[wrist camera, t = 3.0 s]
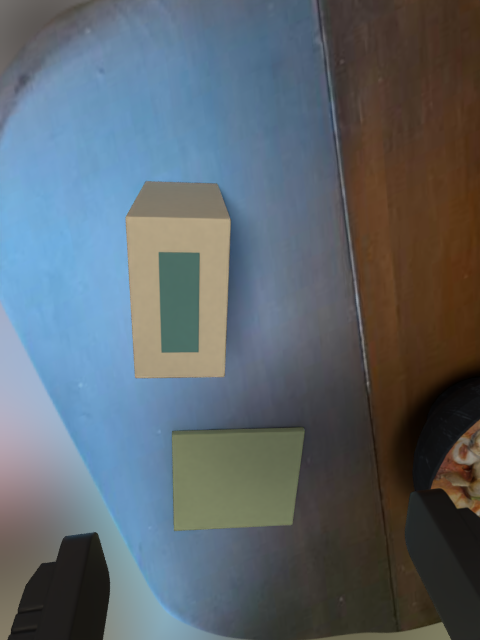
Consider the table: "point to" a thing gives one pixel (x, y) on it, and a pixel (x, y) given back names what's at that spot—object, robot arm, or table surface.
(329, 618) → the table surface
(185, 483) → the mat
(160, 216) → the tissue box
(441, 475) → the bowl
